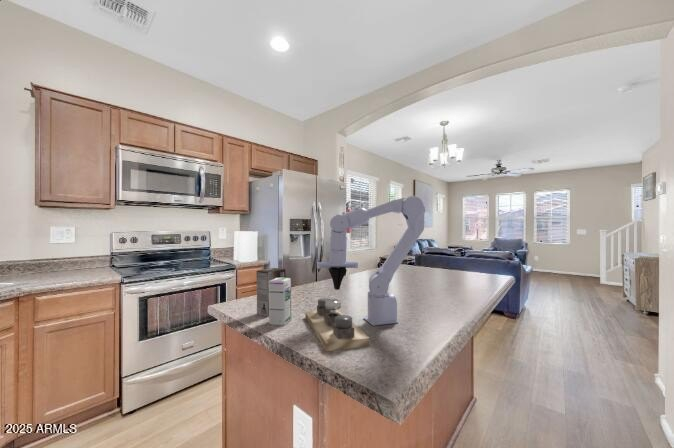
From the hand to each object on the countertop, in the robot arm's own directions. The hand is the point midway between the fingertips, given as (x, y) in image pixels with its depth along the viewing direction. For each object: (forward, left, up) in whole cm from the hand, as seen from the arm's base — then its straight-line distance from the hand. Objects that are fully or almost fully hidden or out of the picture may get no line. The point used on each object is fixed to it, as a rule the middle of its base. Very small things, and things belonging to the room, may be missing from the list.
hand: (336, 289), depth 95 cm
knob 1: (+4, -1, -8) cm, 9 cm away
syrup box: (+19, -3, -11) cm, 22 cm away
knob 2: (+4, +19, -8) cm, 21 cm away
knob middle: (+4, +9, -6) cm, 12 cm away
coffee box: (+21, -15, -11) cm, 28 cm away
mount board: (+4, +9, -10) cm, 14 cm away
